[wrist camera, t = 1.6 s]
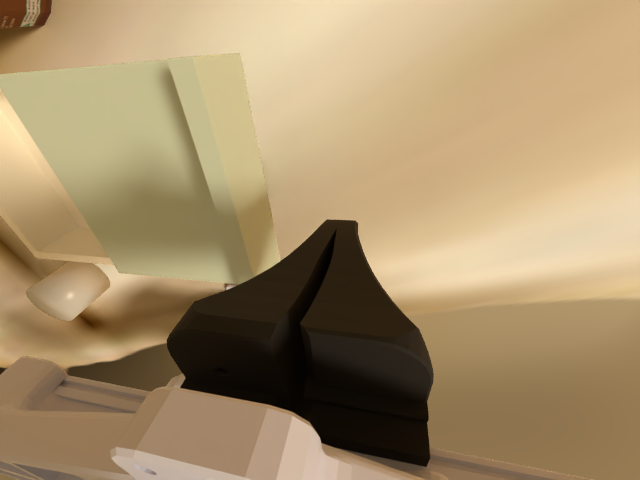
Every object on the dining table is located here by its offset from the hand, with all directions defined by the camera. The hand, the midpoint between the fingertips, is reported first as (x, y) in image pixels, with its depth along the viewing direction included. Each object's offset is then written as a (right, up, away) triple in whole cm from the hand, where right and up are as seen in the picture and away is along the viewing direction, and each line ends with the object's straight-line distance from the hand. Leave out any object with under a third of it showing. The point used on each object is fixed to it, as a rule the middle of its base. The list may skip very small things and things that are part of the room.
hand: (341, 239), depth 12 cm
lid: (-11, +3, +6) cm, 13 cm away
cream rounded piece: (-29, -4, +22) cm, 37 cm away
